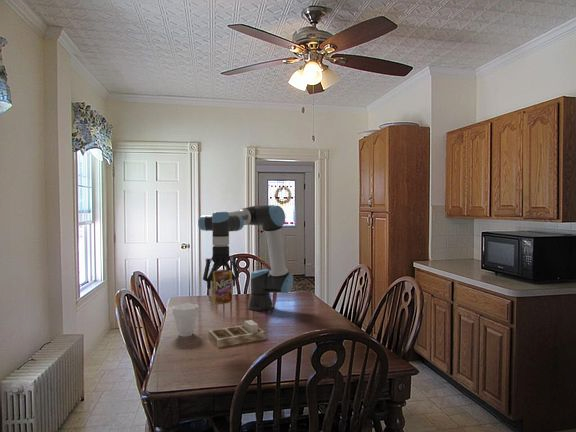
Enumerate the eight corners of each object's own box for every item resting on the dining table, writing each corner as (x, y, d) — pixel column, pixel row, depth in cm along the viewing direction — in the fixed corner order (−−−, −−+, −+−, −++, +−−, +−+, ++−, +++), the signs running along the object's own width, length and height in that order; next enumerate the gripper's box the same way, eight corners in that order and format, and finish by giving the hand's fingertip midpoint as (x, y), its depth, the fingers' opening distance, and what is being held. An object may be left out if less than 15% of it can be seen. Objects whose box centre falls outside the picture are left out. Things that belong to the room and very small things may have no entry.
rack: (253, 331, 193) (252, 323, 193) (266, 341, 179) (266, 332, 179) (207, 339, 183) (207, 330, 182) (218, 350, 168) (218, 340, 168)
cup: (185, 340, 181) (184, 311, 181) (167, 335, 188) (167, 307, 187) (204, 332, 192) (203, 305, 191) (186, 328, 198) (186, 302, 198)
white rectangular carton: (251, 332, 189) (251, 319, 188) (257, 336, 181) (257, 324, 181) (244, 333, 187) (244, 320, 187) (250, 338, 180) (250, 325, 180)
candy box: (214, 305, 173) (213, 271, 172) (210, 303, 176) (210, 270, 176) (232, 302, 178) (232, 269, 177) (228, 301, 181) (228, 268, 181)
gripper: (240, 243, 185) (240, 290, 185) (194, 246, 175) (195, 295, 175) (246, 245, 178) (246, 293, 179) (199, 247, 168) (199, 299, 169)
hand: (221, 294), depth 177 cm, fingers closed on candy box, 9 cm apart
